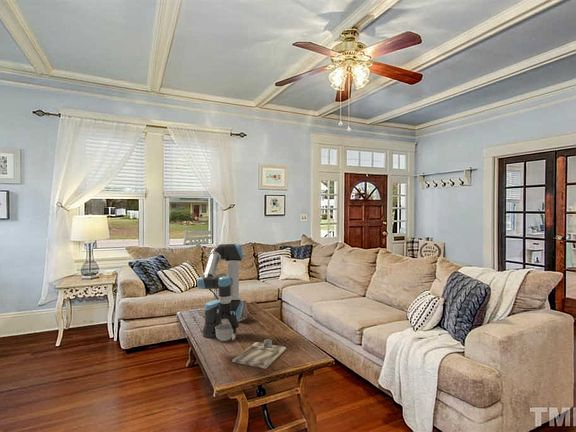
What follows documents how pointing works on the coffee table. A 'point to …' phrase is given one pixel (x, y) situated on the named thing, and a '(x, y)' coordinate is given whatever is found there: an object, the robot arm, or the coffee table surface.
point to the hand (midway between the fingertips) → (225, 337)
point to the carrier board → (260, 354)
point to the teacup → (224, 332)
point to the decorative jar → (243, 311)
